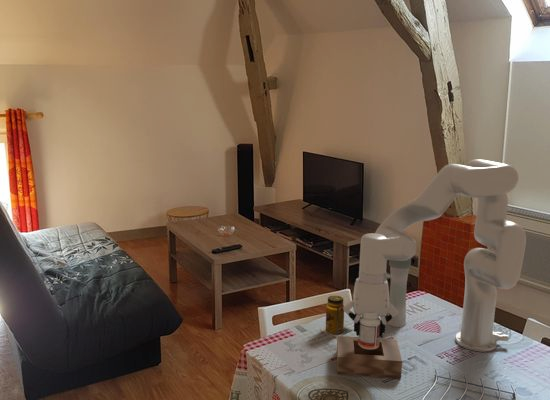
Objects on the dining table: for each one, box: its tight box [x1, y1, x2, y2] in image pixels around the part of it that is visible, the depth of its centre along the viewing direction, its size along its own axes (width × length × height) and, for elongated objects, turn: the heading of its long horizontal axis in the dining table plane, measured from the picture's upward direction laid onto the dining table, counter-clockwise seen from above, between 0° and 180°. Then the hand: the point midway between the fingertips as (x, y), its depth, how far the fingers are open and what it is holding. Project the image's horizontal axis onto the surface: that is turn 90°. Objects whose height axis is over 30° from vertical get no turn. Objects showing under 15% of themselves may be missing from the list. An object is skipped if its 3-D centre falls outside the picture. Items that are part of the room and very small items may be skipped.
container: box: [386, 239, 417, 328], centre depth 179 cm, size 10×10×30 cm
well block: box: [336, 335, 403, 380], centre depth 153 cm, size 18×13×6 cm
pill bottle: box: [357, 312, 381, 350], centre depth 151 cm, size 6×6×11 cm
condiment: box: [320, 295, 354, 338], centre depth 174 cm, size 7×8×12 cm
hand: (369, 333), depth 152 cm, fingers closed on pill bottle, 6 cm apart
